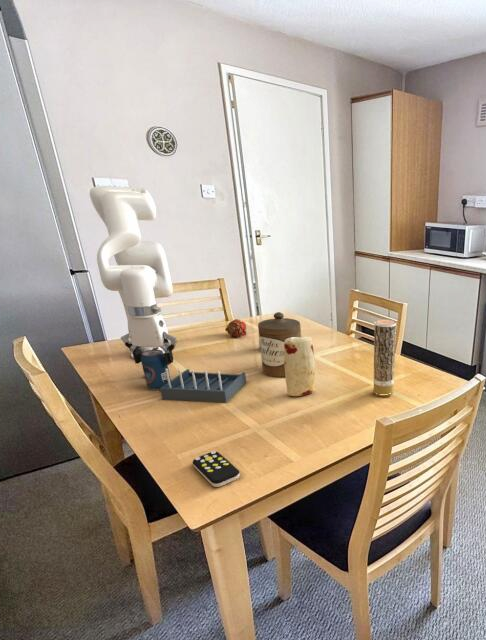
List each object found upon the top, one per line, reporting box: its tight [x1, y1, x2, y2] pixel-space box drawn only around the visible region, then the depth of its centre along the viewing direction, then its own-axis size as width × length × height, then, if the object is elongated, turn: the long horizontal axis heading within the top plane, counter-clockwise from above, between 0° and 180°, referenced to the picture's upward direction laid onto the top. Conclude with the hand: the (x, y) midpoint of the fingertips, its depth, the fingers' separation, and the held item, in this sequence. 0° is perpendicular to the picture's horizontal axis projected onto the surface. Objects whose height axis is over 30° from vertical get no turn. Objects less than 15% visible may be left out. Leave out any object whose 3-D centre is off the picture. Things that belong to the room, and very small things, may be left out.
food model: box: [284, 336, 316, 397], centre depth 132 cm, size 10×7×20 cm
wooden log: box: [373, 319, 397, 398], centre depth 135 cm, size 7×7×25 cm
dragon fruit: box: [225, 318, 247, 338], centre depth 186 cm, size 8×8×12 cm
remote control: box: [192, 450, 241, 488], centre depth 95 cm, size 6×13×2 cm, turn 48°
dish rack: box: [159, 368, 247, 403], centre depth 133 cm, size 16×20×10 cm
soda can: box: [140, 350, 172, 391], centre depth 133 cm, size 7×7×12 cm
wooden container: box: [257, 311, 302, 378], centre depth 150 cm, size 15×15×22 cm
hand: (154, 362), depth 131 cm, fingers open, 9 cm apart
